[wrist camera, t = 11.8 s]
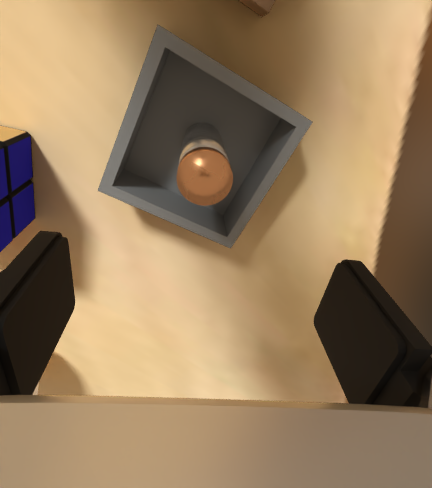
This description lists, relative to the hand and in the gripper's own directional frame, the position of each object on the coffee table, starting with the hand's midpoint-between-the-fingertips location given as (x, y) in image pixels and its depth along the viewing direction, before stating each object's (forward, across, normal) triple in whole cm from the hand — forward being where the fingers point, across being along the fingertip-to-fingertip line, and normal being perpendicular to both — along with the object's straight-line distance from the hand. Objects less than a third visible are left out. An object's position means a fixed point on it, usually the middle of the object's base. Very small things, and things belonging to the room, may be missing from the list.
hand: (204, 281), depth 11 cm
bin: (+24, 0, +1) cm, 24 cm away
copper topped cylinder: (+23, 0, 0) cm, 23 cm away
